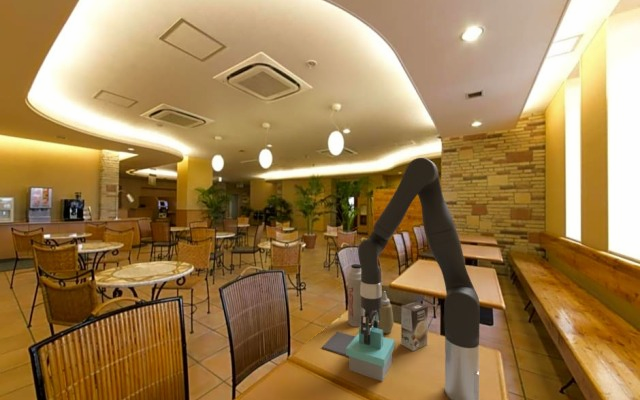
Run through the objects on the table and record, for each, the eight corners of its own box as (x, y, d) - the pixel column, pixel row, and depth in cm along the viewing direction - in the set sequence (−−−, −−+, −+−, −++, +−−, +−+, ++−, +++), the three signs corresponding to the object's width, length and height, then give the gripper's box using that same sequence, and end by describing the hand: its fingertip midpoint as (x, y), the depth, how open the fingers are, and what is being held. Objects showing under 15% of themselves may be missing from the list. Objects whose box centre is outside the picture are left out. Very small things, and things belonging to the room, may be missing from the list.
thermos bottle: (352, 327, 125) (352, 268, 125) (345, 320, 133) (345, 263, 132) (367, 325, 128) (367, 266, 127) (360, 317, 135) (360, 262, 135)
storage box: (392, 361, 100) (392, 343, 100) (382, 381, 89) (382, 360, 89) (361, 352, 106) (361, 334, 106) (349, 370, 95) (349, 350, 95)
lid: (394, 346, 100) (394, 325, 100) (384, 367, 88) (384, 343, 88) (360, 337, 107) (360, 317, 106) (346, 355, 95) (346, 332, 95)
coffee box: (413, 351, 106) (413, 311, 106) (400, 344, 111) (400, 305, 111) (428, 344, 111) (428, 306, 111) (415, 337, 116) (415, 300, 116)
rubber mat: (366, 340, 114) (366, 339, 114) (354, 358, 102) (354, 357, 102) (337, 332, 121) (337, 331, 121) (321, 348, 109) (321, 346, 109)
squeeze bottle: (394, 336, 118) (394, 295, 117) (375, 334, 119) (375, 294, 119) (393, 327, 126) (393, 288, 125) (375, 325, 127) (375, 287, 127)
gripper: (374, 302, 89) (374, 351, 89) (386, 289, 101) (386, 332, 102) (353, 298, 93) (353, 345, 93) (367, 286, 105) (367, 327, 105)
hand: (371, 338), depth 97 cm, fingers open, 8 cm apart
